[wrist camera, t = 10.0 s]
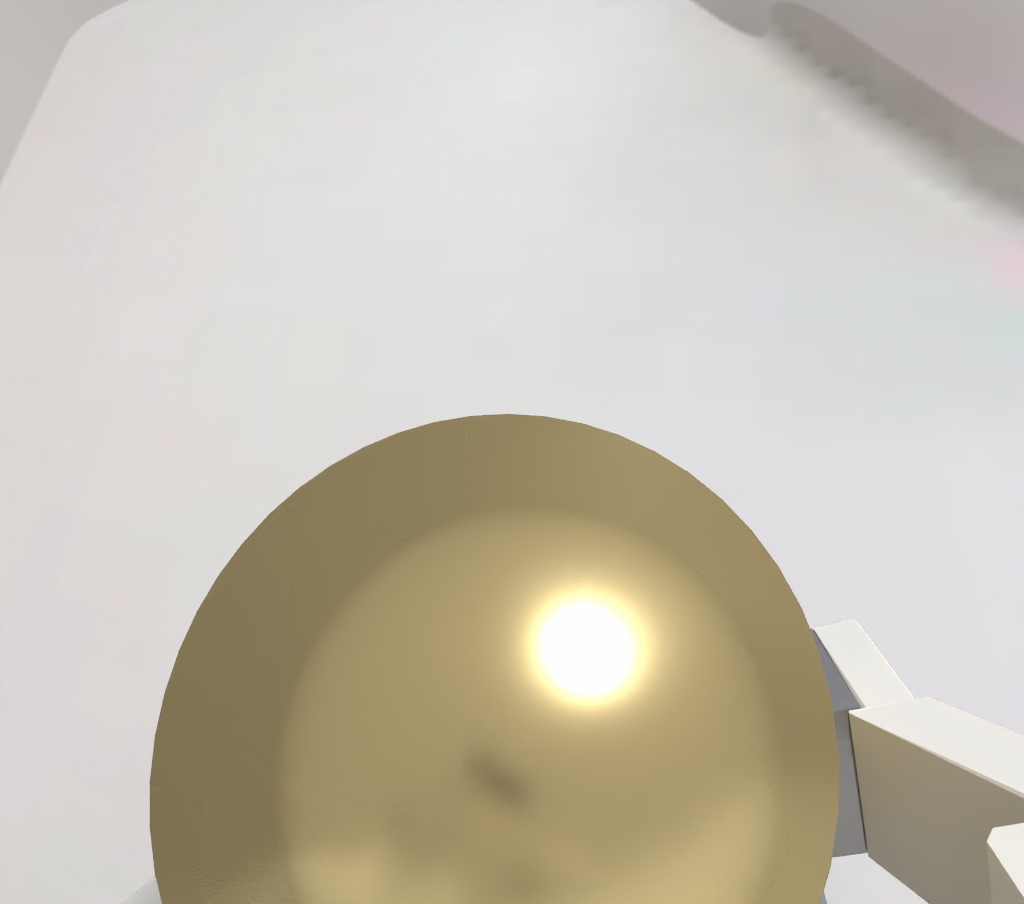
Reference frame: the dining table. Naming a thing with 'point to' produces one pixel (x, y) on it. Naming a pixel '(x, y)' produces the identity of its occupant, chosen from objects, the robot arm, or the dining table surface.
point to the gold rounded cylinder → (497, 690)
